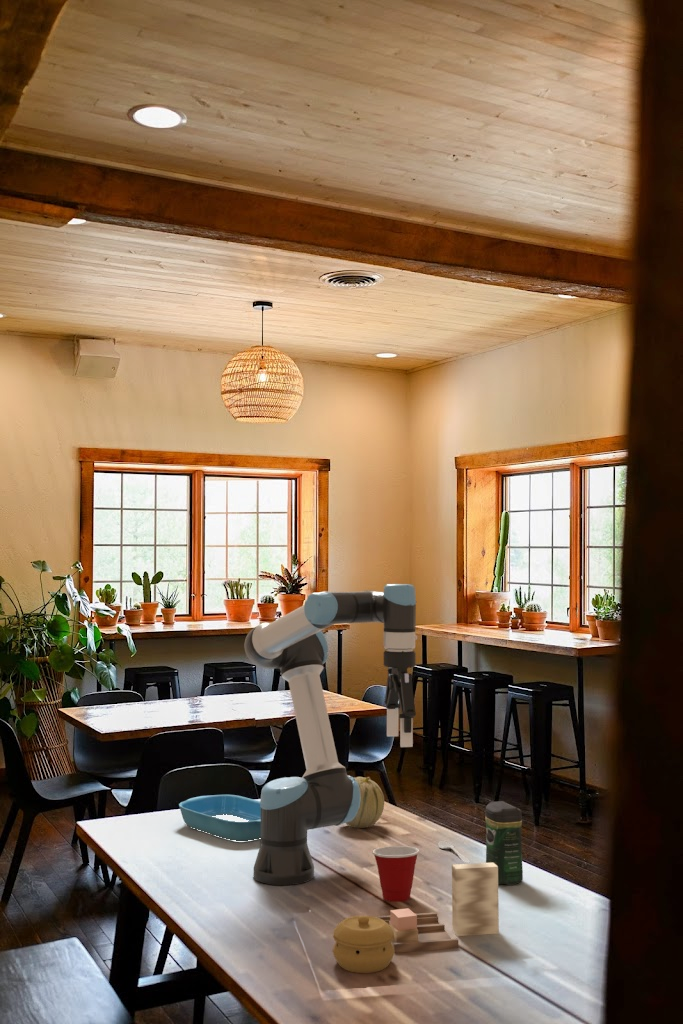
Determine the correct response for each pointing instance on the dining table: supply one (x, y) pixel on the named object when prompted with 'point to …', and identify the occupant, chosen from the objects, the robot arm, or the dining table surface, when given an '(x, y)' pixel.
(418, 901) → the dining table surface
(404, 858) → the plastic cup
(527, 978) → the dining table surface
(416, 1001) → the dining table surface
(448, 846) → the spoon
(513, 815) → the coffee jar
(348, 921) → the pot
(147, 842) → the dining table surface
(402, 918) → the offcut terracotta
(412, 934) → the offcut oak
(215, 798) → the casserole dish
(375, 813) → the cantaloupe
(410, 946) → the rack
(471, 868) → the birch block
